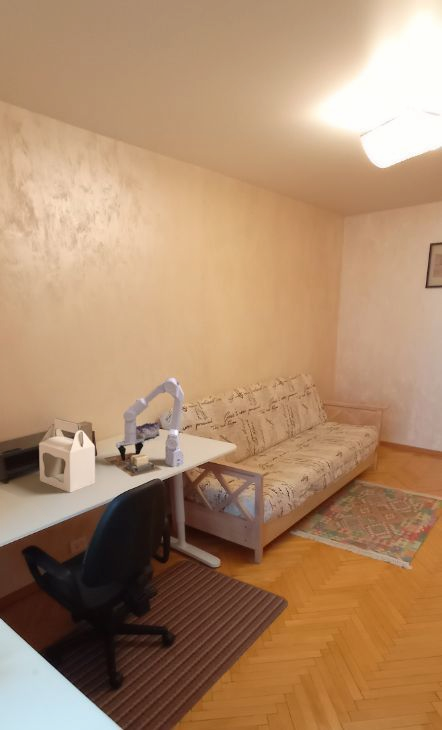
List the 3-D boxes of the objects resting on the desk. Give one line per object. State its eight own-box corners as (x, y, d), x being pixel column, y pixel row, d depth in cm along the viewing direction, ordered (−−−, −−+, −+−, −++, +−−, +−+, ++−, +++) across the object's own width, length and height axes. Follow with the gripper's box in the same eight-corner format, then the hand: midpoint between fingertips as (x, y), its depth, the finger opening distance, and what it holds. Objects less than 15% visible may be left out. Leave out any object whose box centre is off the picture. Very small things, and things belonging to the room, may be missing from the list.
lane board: (162, 471, 202) (162, 464, 202) (131, 478, 192) (131, 471, 192) (131, 454, 227) (131, 447, 226) (103, 459, 217) (103, 453, 216)
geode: (149, 432, 272) (151, 417, 270) (163, 438, 266) (165, 422, 264) (126, 438, 255) (128, 422, 253) (140, 444, 249) (142, 428, 247)
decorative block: (75, 466, 206) (74, 427, 204) (68, 464, 209) (67, 425, 207) (93, 460, 215) (92, 422, 213) (85, 458, 219) (85, 421, 216)
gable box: (95, 483, 186) (95, 421, 183) (70, 493, 175) (69, 427, 172) (64, 472, 198) (63, 414, 195) (39, 481, 187) (37, 419, 184)
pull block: (153, 467, 204) (153, 455, 204) (131, 472, 197) (131, 460, 196) (138, 458, 217) (138, 447, 216) (116, 463, 209) (116, 451, 209)
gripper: (139, 428, 217) (139, 454, 218) (113, 433, 207) (113, 459, 209) (146, 431, 211) (146, 457, 212) (119, 436, 202) (119, 463, 203)
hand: (130, 458), depth 210 cm, fingers open, 7 cm apart
